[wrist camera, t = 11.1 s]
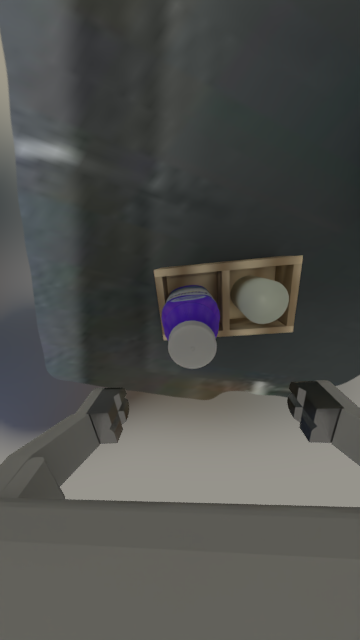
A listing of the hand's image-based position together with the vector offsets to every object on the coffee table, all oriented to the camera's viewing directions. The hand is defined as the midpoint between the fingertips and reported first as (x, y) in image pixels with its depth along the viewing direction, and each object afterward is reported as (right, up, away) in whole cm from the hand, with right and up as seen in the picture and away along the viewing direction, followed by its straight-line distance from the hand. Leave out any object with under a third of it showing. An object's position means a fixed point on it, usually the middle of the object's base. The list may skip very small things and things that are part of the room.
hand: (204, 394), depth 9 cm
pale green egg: (+11, +8, +21) cm, 25 cm away
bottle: (+1, +7, +22) cm, 23 cm away
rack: (+6, +8, +22) cm, 24 cm away
